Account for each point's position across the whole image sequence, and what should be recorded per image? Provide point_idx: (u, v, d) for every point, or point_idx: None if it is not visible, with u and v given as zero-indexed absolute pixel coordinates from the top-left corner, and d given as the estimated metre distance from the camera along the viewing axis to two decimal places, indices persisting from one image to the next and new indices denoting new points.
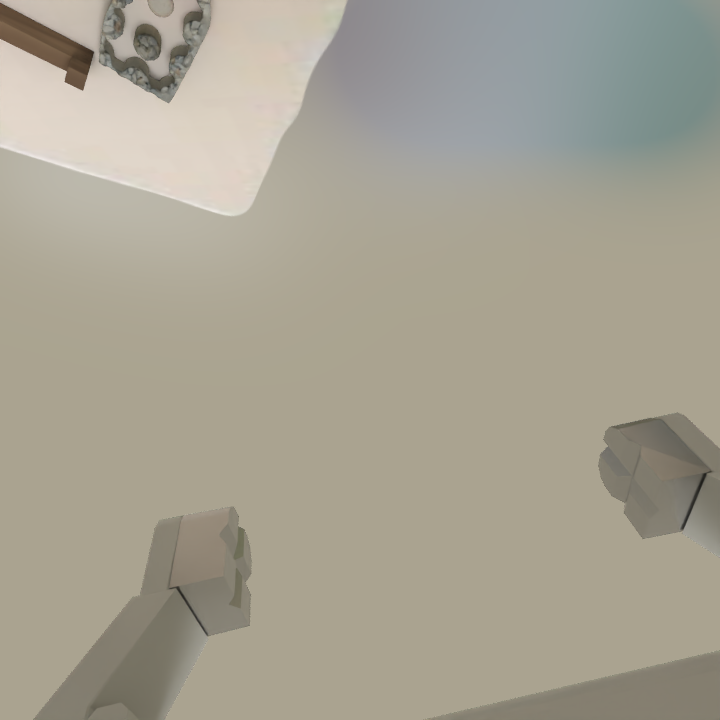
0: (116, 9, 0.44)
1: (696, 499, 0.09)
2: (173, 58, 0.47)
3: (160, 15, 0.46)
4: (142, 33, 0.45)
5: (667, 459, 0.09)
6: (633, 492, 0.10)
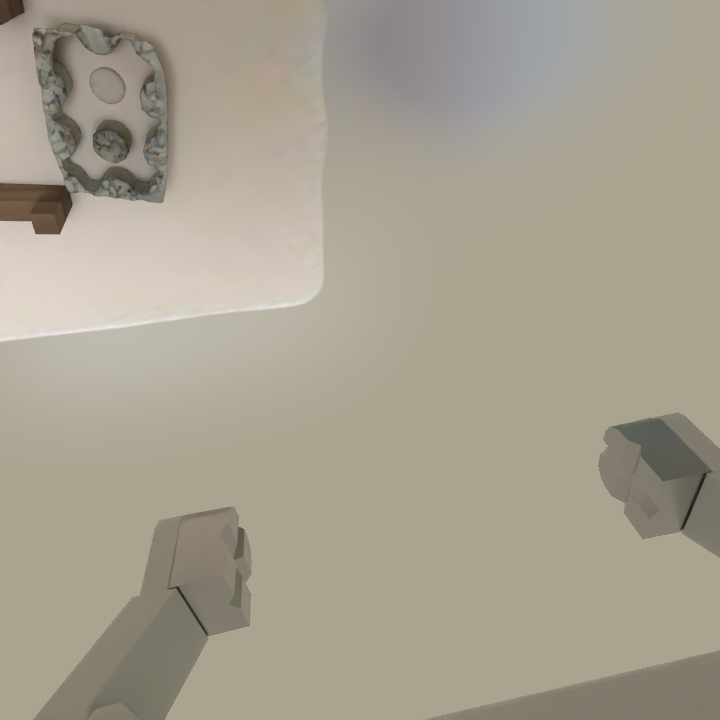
0: (60, 118, 0.34)
1: (696, 499, 0.09)
2: (145, 145, 0.35)
3: (114, 101, 0.35)
4: (98, 131, 0.34)
5: (667, 459, 0.09)
6: (633, 492, 0.10)
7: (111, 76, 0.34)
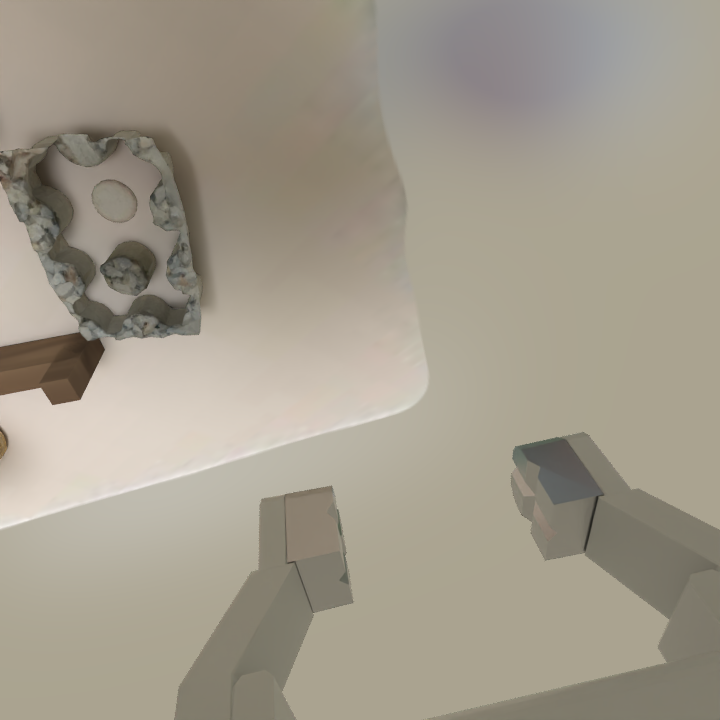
0: (64, 253, 0.27)
1: (592, 522, 0.09)
2: (167, 266, 0.26)
3: (125, 218, 0.27)
4: (106, 261, 0.26)
5: (563, 481, 0.09)
6: (536, 513, 0.10)
7: (115, 189, 0.26)
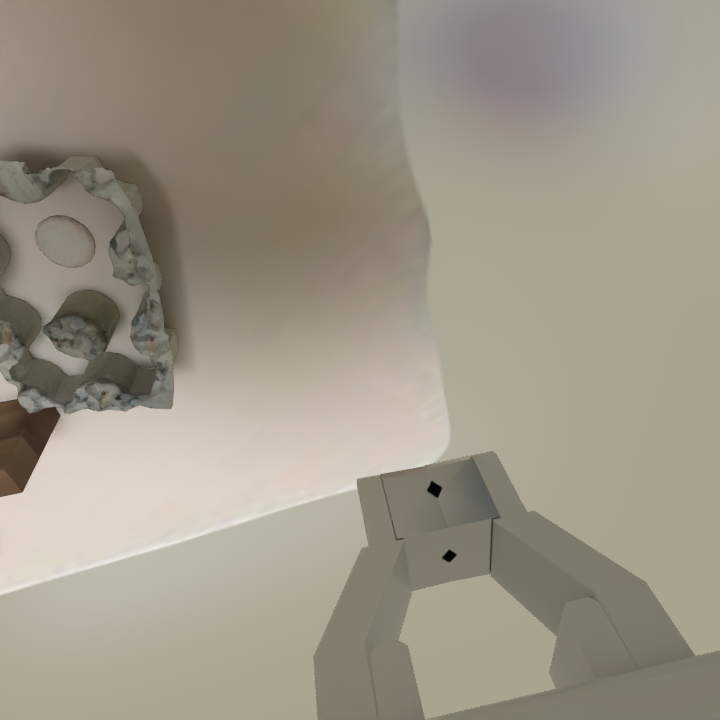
0: None
1: (492, 543, 0.09)
2: (132, 326, 0.21)
3: (80, 263, 0.21)
4: (52, 319, 0.20)
5: (461, 503, 0.09)
6: None
7: (67, 227, 0.20)
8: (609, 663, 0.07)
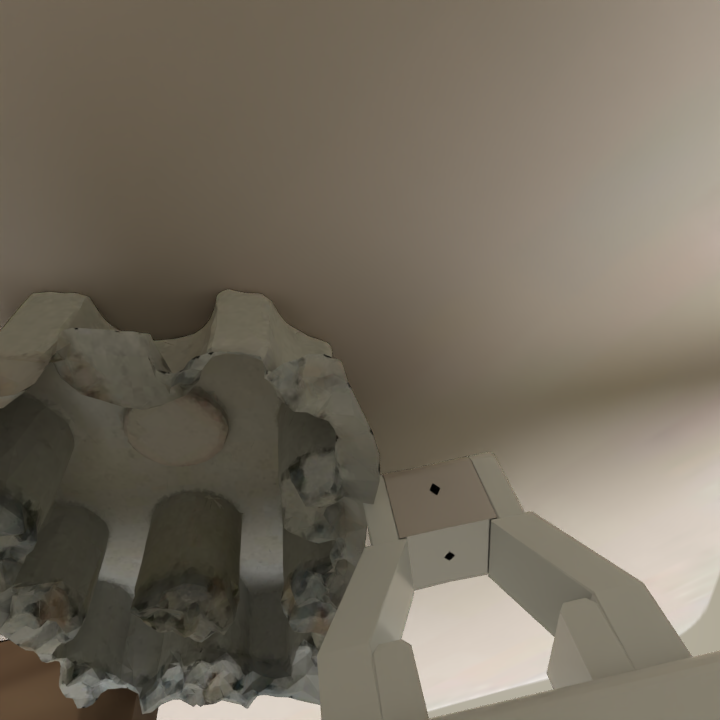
0: (42, 541, 0.11)
1: (490, 544, 0.09)
2: (288, 587, 0.11)
3: (196, 462, 0.12)
4: (147, 582, 0.11)
5: (459, 503, 0.09)
6: None
7: (185, 410, 0.11)
8: (606, 664, 0.07)
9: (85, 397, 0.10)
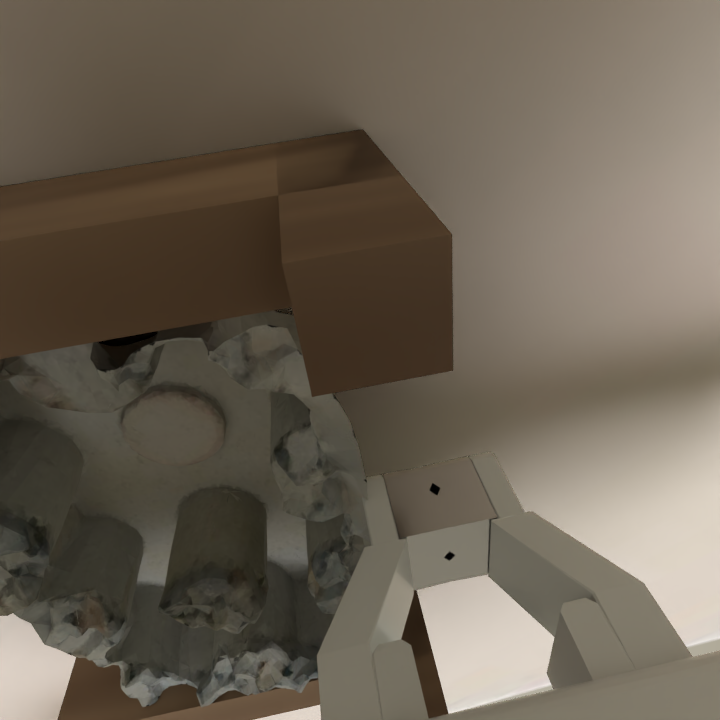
0: (72, 554, 0.12)
1: (490, 544, 0.09)
2: (311, 569, 0.11)
3: (201, 458, 0.12)
4: (170, 581, 0.11)
5: (459, 503, 0.09)
6: None
7: (175, 409, 0.11)
8: (606, 664, 0.07)
9: (80, 411, 0.11)
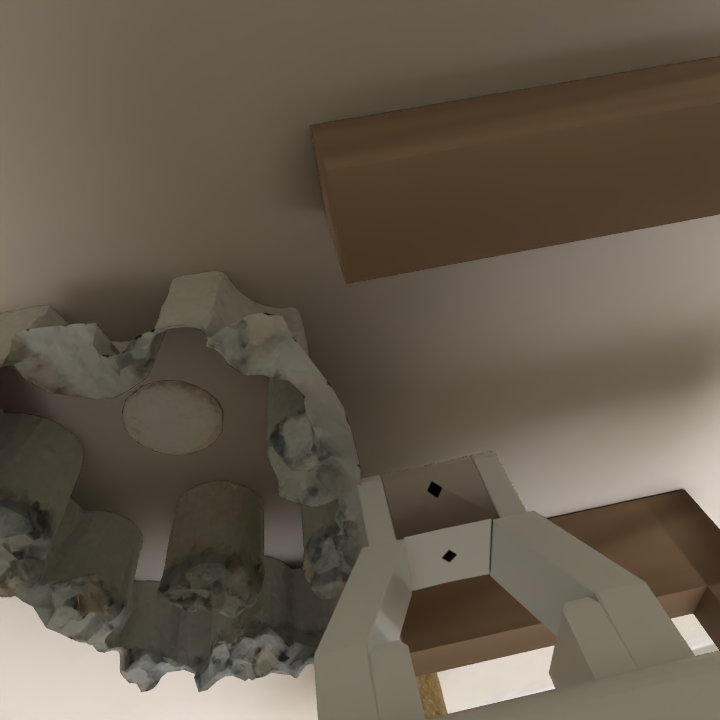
0: (74, 541, 0.12)
1: (492, 543, 0.09)
2: (307, 555, 0.11)
3: (200, 447, 0.12)
4: (169, 566, 0.11)
5: (461, 503, 0.09)
6: None
7: (175, 398, 0.11)
8: (609, 663, 0.07)
9: None
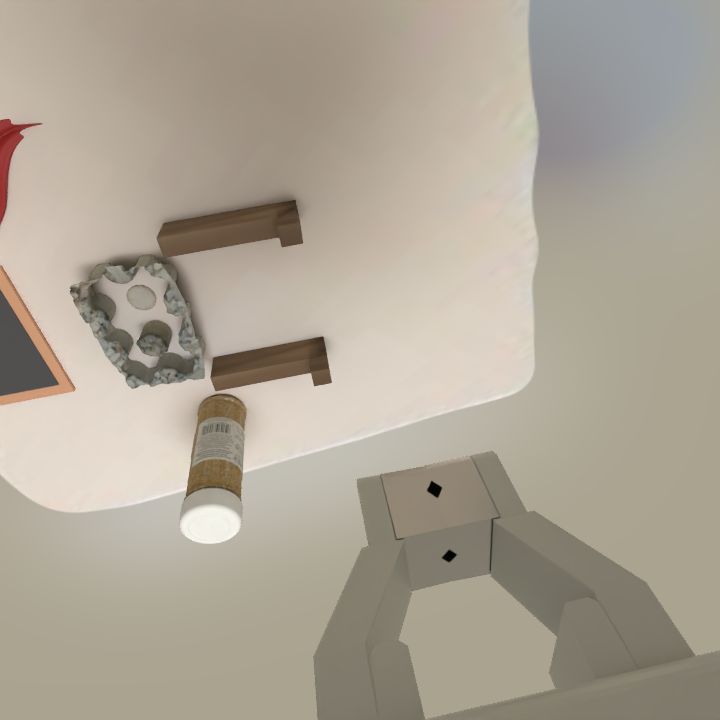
0: (112, 334, 0.41)
1: (492, 544, 0.09)
2: (179, 336, 0.40)
3: (149, 307, 0.41)
4: (140, 337, 0.40)
5: (461, 503, 0.09)
6: None
7: (141, 290, 0.40)
8: (609, 663, 0.07)
9: None
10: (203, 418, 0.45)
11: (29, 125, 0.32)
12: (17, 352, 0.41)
